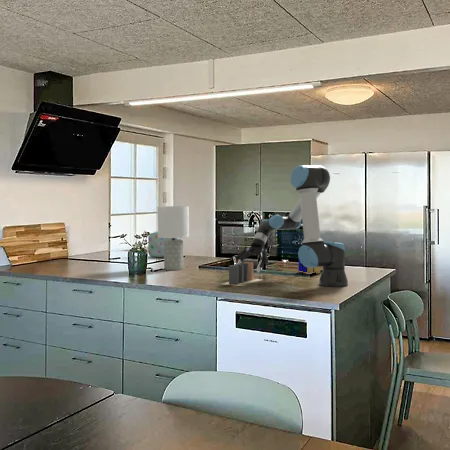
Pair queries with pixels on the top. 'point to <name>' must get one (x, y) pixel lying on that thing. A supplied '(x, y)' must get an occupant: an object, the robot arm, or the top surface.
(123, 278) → the top surface
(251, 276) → the salmon orange block
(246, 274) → the dark grey block
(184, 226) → the lamp
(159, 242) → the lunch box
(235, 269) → the dark grey block
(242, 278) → the grey rectangular slab
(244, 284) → the birch board
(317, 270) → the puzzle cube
